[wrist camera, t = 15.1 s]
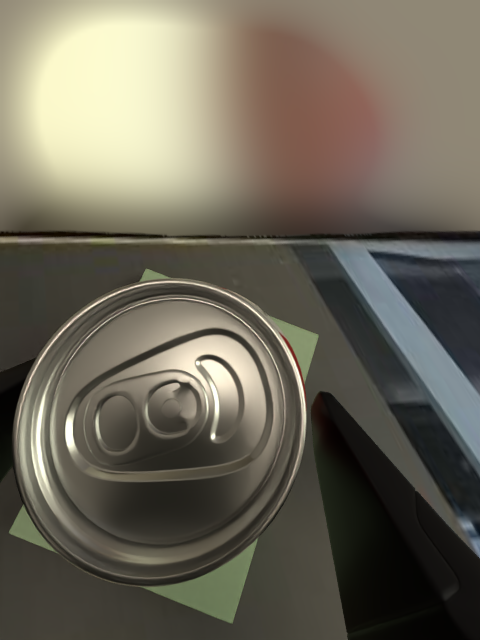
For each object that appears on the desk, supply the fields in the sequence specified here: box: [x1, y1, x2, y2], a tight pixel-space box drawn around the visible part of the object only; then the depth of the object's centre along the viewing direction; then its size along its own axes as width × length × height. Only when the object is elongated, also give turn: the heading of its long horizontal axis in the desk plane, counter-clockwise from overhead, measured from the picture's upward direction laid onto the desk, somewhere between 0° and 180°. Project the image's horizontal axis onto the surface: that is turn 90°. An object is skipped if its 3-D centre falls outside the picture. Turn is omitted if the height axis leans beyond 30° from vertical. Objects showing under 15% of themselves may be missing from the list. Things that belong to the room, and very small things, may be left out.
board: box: [9, 269, 319, 624], centre depth 16 cm, size 14×18×2 cm
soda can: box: [12, 278, 306, 587], centre depth 10 cm, size 7×7×12 cm
